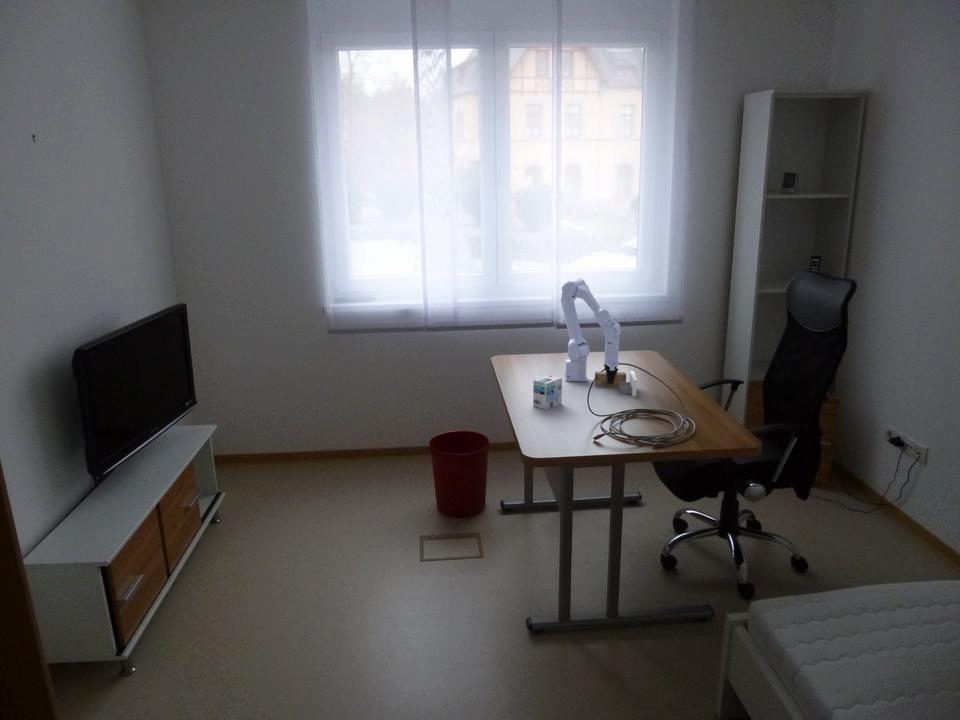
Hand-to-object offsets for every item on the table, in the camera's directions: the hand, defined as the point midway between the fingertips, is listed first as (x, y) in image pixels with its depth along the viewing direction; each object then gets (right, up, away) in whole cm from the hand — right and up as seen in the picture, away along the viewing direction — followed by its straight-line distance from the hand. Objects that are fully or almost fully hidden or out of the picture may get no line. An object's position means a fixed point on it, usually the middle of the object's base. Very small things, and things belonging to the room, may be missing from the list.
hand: (610, 382), depth 297 cm
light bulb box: (-29, -8, -24) cm, 39 cm away
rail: (0, -1, 0) cm, 2 cm away
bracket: (+5, -4, -8) cm, 10 cm away
